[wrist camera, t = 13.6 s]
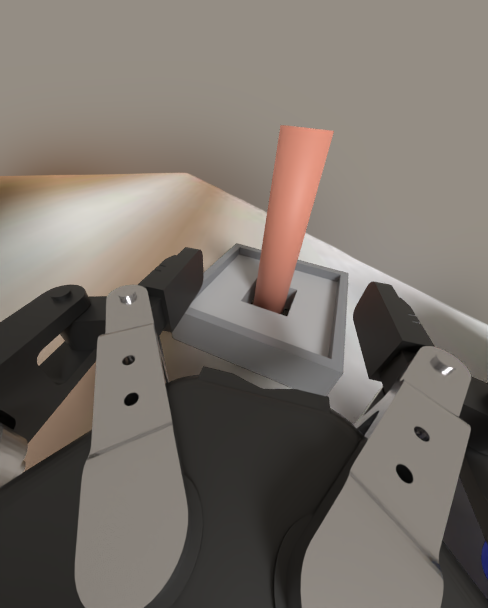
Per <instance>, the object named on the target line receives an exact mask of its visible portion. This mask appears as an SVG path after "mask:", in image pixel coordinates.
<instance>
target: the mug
mask: <svg viewBox="0 0 488 608" xmlns="http://www.w3.org/2000/svg"><path fill="white" fill-rule="evenodd" d="M481 560H482V567H483V570H484V573H485V575H486V578H487V579H488V545H487V542H486V541H485V543H484V546H483V548H482V555H481Z"/></svg>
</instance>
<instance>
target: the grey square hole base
mask: <svg viewBox="0 0 488 608" xmlns="http://www.w3.org/2000/svg"><path fill="white" fill-rule="evenodd" d="M260 257H261V250H259V249H256V248H252V247H248V246H244V245H241V244H237V243H236V244H235V245H234V246H233V247H232V248H231V249H230V250H228V251H227V252H226V253H225V254H224V255H223V256H222V257H221V258H220V259H218V260H217V261H216V262H215V263H214V264H213V265H212V266H211V267H210V268H208V269H207V270H206V271H205V272H204V273H203V275H204V279H203V284H202V287H201V289H200V291H199V292H198V294H197V295H196V297H195V298H194V300H193V301H192V303H191V305H190V306H189V308H188V309H187V311H186V312H185V314H184V315H183V317H182V318H181V320H180V321H179V323H178V324H177V326H176V328H175V329H174V331H173V332H172V337H173V338H174V339H176V340H178V341H181V342H183V343H185V344H188V345H190V346H193V347H195V348H197V349H200V350H202V351H205V352H207V353H209V354H212V355H214V356H217V357H219V358H221V359H224V360H226V361H229V362H231V363H233V364H236V365H238V366H241V367H243V368H245V369H248V370H250V371H253V372H255V373H257V374H260V375H262V376H264V377H267V378H269V379H272V380H274V381H276V382H279V383H281V384H284V385H286V386H288V387H291V388H293V389H298V390H302V391H306V392H310V393H314V394H318V395H323V396H327V395H328V393H329V392H330V391H331V389H332V388H333V386H334V385H335V384H336V382H337V381H338V379H339V378H340V377H341V375H342V374H343V365H344V346H345V328H346V310H347V291H348V273H346V272H342V271H338V270H334V269H331V268H327V267H323V266H319V265H316V264H312V263H308V262H304V261H301V260H297V263H296V267H295V271H294V274H293V278H292V281H291V285H290V288H289V292H288V295H287V299H286V302H285V306H284V309H288V310H290V311H289V314H288V316H284V315H281V314H278V313H275V312H272V311H269V310H266V309H263V308H260V307H257V306H254V305H251V302H252V301H253V299H254V296H255V289H256V283H257V276H258V270H259V263H260Z"/></svg>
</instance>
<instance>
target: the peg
mask: <svg viewBox="0 0 488 608" xmlns="http://www.w3.org/2000/svg"><path fill="white" fill-rule="evenodd" d="M333 132H334V131H328V130H320V129H311V128H302V127H293V126H284V125H281V126H280V133H279V140H278V146H277V152H276V159H275V165H274V172H273V179H272V185H271V192H270V198H269V205H268V211H267V218H266V224H265V231H264V237H263V244H262V250H261V257H260V263H259V270H258V276H257V283H256V289H255V296H254V302H253V305H254V306H257V307H260V308H263V309H266V310H269V311H272V312H275V313H278V314H281V315H282V313H283V309H284V306H285V302H286V299H287V295H288V292H289V288H290V285H291V281H292V278H293V274H294V271H295V267H296V263H297V260H298V256H299V253H300V249H301V246H302V242H303V239H304V235H305V232H306V228H307V224H308V221H309V217H310V214H311V210H312V207H313V203H314V199H315V196H316V193H317V189H318V185H319V182H320V179H321V175H322V171H323V168H324V164H325V160H326V157H327V154H328V150H329V147H330V143H331V139H332V136H333Z"/></svg>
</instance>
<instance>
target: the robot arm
mask: <svg viewBox="0 0 488 608" xmlns="http://www.w3.org/2000/svg"><path fill="white" fill-rule="evenodd" d="M203 279H204V275H203V255H202V251H201V250H199V249H193V248H188V247H185V248H184V249H183V250H182V251H181V252H180V253H179V254H178V255H177V256H176V255H174V256H171V257H169V258H167V259H165V260H164V261H163V262H162V263H161V264H160V265H159V266H157V267H156V268H155V269H154V270H153V271H152V272H151V273H150V274H149V275H148V276H147V277H145V278H144V279H143V280H142V281H141V282H140V283H139V284H138V285H126V286H122V287H119V288H116V289H115V290H113V291H111V292H110V293H109V294H108V296H99V297H88V295H87V293H86V291H85V289H84V288H83V287H81V286H78V285H64V286H59V287H56V288H53V289H50V290H48V291H47V292H45V293H43V294H42V295H40V296H39V297H37V298H36V299H34V300H33V301H31V302H30V303H28V304H27V305H25V306H24V307H23V308H21V309H20V310H18V311H17V312H15V313H14V314H12V315H11V316H9V317H8V318H6V319H5V320H3V321H2V322H0V608H488V601H487V599H486V598H485V597H484V595H483V594H482V593H481V591H480V590H479V589H478V587H477V586H476V585H475V583H474V582H473V581H472V579H471V578H470V577H469V575H468V574H467V573H466V571H465V570H464V569H463V567H462V566H461V565H460V563H459V562H458V561H457V559H456V558H455V557H454V555H453V554H452V553H451V551H450V550H449V549H448V547H447V546H446V545H445V543H444V542H443V541H442V539H443V535H444V531H445V527H446V524H447V520H448V516H449V512H450V508H451V504H452V501H453V497H454V493H455V489H456V485H457V481H458V478H459V476H460V478H461V481H462V483H463V486H464V488H465V491H466V493H467V496H468V498H469V501H470V503H471V505H472V508H473V510H474V513H475V515H476V518H477V520H478V523H479V525H480V528H481V530H482V533H483V535H484V537H485V540H486V542H487V545H488V383H485V382H483V381H480V380H478V379H476V378H473V377H471V374H470V372H469V370H468V368H467V367H466V366H465V365H464V364H463V363H462V362H461V361H460V360H459V359H458V358H456V357H455V356H454V355H452V354H450V353H449V352H447V351H445V350H442V349H440V348H437V347H435V346H434V345H433V343H432V341H431V340H430V338H429V336H428V335H427V333H426V331H425V330H424V328H423V327H422V325H421V324H419V320H418V318H417V317H416V316H415V314H414V312H413V310H412V309H411V307H410V306H409V305H408V304H407V303H406V302H405V301H403V300H402V299H401V298H399V297H398V295H397V294H396V292H395V290H394V289H393V287H392V285H389V284H384V283H378V282H371V283H369V285H368V286H367V288H366V289H365V291H364V293H363V295H362V297H361V298H360V300H359V302H358V304H357V305H356V307H355V310H354V313H353V321H354V325H355V328H356V332H357V336H358V340H359V343H360V347H361V351H362V355H363V358H364V362H365V366H366V369H367V373H368V377H369V379H372V380H376V381H381V382H382V384H383V387H382V388H381V389H380V390H379V391H378V392H377V393H376V395H375V396H374V398H373V399H372V401H371V402H370V403H369V405H368V406H367V408H366V409H365V411H364V412H363V413H362V415H361V416H360V418H359V419H358V420H357V422H356V423H355V424H354V425H353V424H352V423H350V422H349V421H348V420H347V419H346V418H344V417H343V416H342V415H340V414H339V413H337V412H336V411H334V410H332V409H330V404H329V397H327V396H323V395H318V394H314V393H310V392H306V391H302V390H298V389H262V388H259V387H257V386H256V385H254V384H252V383H250V382H248V381H246V380H244V379H242V378H240V377H238V376H236V375H234V374H232V373H228V372H224V371H220V370H216V369H212V368H208V367H204V366H203V368H202V370H201V373H200V375H194V376H187V377H183V378H179V379H176V380H173V381H171V382H169V378H168V374H167V369H166V365H165V360H164V355H163V351H162V346H161V341H160V337H159V335H160V334H161V332H162V331H167V332H171V333H172V332H173V331H174V329H175V328H176V326H177V324H178V323H179V321H180V320H181V318H182V317H183V315H184V314H185V312H186V311H187V309H188V308H189V306H190V305H191V303H192V301H193V300H194V298H195V297H196V295H197V294H198V292H199V291H200V289H201V287H202V284H203ZM59 334H60V335H61V336H62V337H63V339H64V340H65V342H64V343H63V344H62V345H61V346H59V347H58V348H57V349H56V350H55V351H54V352H53V353H52V354H51V355H50V356H49V357H48V358H47V359H46V360H45V361H44V362H43V363H42V364H41V365H40V366H38V365H37V357H38V355H39V353H40V352H41V350H42V349H43V348H44V347H46V346H47V345H48V344H49V343H50V342H51V341H52V340H53V339H54V338H56V337H57V336H58V335H59ZM95 361H96V373H95V390H94V407H93V424H92V430H91V431H89V432H88V433H86V434H84V435H83V436H81V437H80V438H78V439H76V440H75V441H73V442H71V443H70V444H68V445H67V446H65V447H63V448H62V449H60V450H59V451H57V452H55V453H54V454H52V455H51V456H49V457H47V458H46V459H44V460H43V461H41V462H39V463H38V464H36V465H35V466H33V467H31V468H30V469H28V470H27V471H25V472H23V471H24V469H25V465H26V464H25V461H24V458H25V456H26V453H27V449H28V443H29V442H30V440H31V439H32V438H33V437H34V435H35V434H36V433H37V432H38V431H39V429H40V428H41V427H42V426H43V424H44V423H45V422H46V421H47V420H48V418H49V417H50V416H51V415H52V414H53V412H54V411H55V410H56V409H57V407H58V406H59V405H60V404H61V403H62V401H63V400H64V399H65V398H66V397H67V395H68V394H69V393H70V392H71V390H72V389H73V388H74V387H75V386H76V384H77V383H78V382H79V381H80V380H81V378H82V377H83V376H84V375H85V373H86V372H87V371H88V370H89V369H90V367H91V366H92V365H93V364H94V363H95ZM22 472H23V473H22Z"/></svg>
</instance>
